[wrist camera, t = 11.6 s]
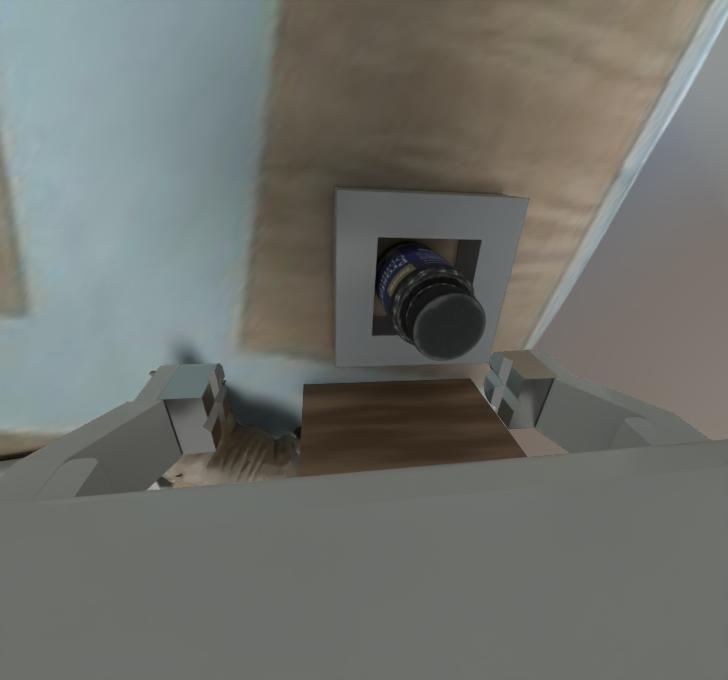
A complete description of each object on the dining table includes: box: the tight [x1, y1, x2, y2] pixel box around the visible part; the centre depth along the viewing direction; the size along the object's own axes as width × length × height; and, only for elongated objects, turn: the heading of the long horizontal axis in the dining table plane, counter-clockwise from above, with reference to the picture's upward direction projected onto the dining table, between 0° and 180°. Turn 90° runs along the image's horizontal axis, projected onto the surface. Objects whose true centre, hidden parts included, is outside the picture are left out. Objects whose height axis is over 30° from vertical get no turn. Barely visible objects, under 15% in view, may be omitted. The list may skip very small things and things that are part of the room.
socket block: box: [333, 187, 530, 367], centre depth 28 cm, size 14×14×4 cm
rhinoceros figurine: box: [149, 371, 301, 486], centre depth 31 cm, size 8×14×15 cm
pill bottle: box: [375, 242, 486, 361], centre depth 25 cm, size 6×6×11 cm
